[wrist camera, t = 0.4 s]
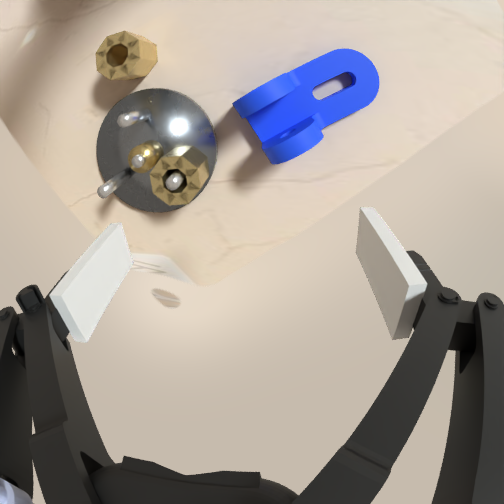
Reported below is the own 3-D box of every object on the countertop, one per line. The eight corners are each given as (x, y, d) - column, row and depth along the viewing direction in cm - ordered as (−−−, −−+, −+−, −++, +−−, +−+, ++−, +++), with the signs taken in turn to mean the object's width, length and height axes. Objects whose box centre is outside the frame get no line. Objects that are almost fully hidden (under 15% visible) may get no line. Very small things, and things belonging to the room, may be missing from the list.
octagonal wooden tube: (116, 44, 30) (94, 40, 25) (155, 33, 29) (138, 26, 24) (119, 82, 33) (98, 83, 28) (158, 73, 33) (141, 71, 27)
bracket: (270, 153, 38) (271, 170, 31) (236, 101, 35) (228, 105, 27) (383, 94, 33) (413, 98, 25) (354, 41, 29) (378, 30, 22)
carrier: (92, 103, 34) (59, 110, 27) (211, 78, 33) (197, 76, 26) (113, 213, 44) (89, 238, 37) (223, 204, 42) (214, 230, 35)
